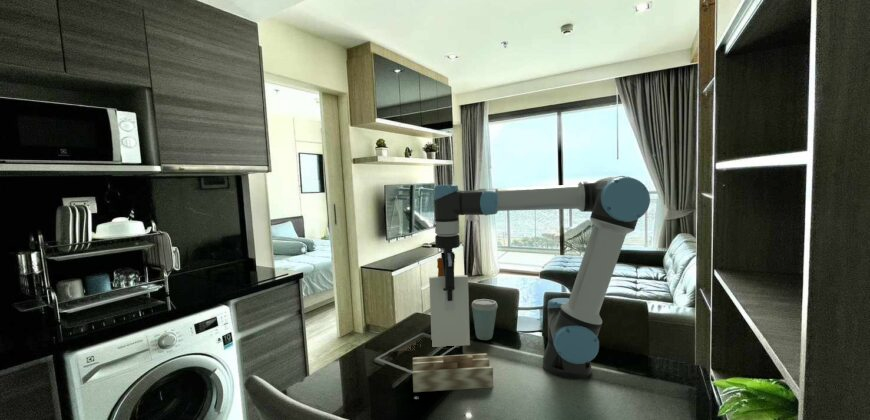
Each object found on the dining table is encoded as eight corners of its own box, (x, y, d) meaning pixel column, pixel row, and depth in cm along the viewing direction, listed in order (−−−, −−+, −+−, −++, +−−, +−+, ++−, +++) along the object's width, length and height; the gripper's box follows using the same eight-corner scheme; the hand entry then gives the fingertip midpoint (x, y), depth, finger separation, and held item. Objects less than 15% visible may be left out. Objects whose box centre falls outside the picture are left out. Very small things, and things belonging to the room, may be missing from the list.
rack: (487, 374, 117) (486, 353, 116) (493, 390, 108) (492, 367, 107) (413, 378, 116) (412, 357, 115) (413, 395, 106) (412, 372, 106)
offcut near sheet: (472, 379, 112) (471, 354, 112) (473, 382, 111) (472, 357, 110) (443, 381, 112) (443, 356, 111) (444, 384, 110) (443, 358, 110)
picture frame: (373, 358, 127) (426, 330, 151) (374, 363, 128) (426, 333, 151) (414, 374, 116) (464, 340, 140) (415, 379, 116) (464, 345, 140)
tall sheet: (469, 342, 115) (467, 275, 113) (469, 345, 113) (467, 276, 111) (431, 345, 114) (429, 277, 112) (431, 347, 112) (429, 278, 111)
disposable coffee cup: (469, 332, 150) (468, 297, 149) (494, 330, 151) (493, 295, 150) (474, 343, 139) (474, 305, 138) (501, 341, 140) (501, 304, 139)
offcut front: (457, 384, 110) (456, 361, 109) (458, 386, 108) (457, 364, 108) (434, 385, 110) (434, 363, 109) (434, 388, 108) (434, 365, 107)
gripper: (433, 231, 118) (436, 301, 120) (436, 238, 103) (439, 318, 105) (456, 230, 118) (458, 300, 120) (462, 237, 104) (464, 316, 105)
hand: (449, 308), depth 113 cm, fingers closed on tall sheet, 2 cm apart
